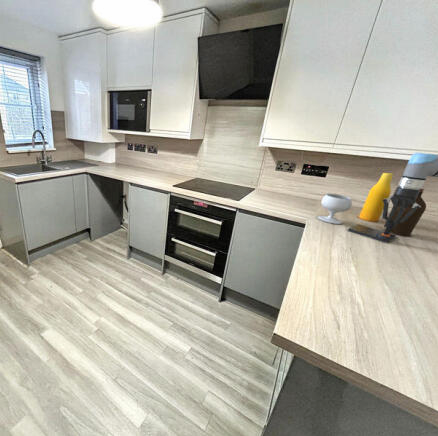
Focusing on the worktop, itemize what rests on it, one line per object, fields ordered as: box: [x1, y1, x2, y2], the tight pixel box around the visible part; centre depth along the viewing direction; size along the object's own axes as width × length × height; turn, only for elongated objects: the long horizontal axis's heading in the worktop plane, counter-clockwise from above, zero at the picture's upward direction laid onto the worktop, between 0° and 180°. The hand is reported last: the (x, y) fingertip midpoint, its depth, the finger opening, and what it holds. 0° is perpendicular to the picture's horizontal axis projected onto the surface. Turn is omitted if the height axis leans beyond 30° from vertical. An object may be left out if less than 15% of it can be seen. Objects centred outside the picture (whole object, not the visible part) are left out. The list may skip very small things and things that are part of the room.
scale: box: [347, 223, 397, 244], centre depth 124 cm, size 17×14×3 cm
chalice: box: [317, 193, 353, 225], centre depth 139 cm, size 14×14×15 cm
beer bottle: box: [358, 172, 394, 223], centre depth 142 cm, size 9×9×29 cm
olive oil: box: [390, 188, 427, 237], centre depth 125 cm, size 11×11×25 cm
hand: (386, 233), depth 117 cm, fingers closed
